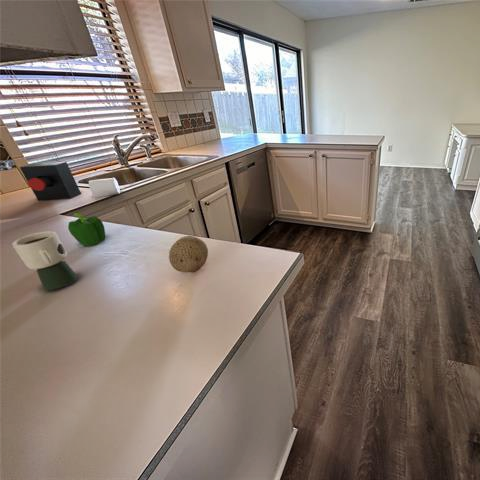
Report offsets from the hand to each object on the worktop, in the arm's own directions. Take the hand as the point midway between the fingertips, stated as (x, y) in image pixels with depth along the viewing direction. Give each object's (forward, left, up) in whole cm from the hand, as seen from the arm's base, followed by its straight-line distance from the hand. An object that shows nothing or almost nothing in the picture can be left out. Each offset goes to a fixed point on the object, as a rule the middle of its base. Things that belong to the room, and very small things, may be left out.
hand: (7, 162), depth 106 cm
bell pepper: (-14, -60, -20) cm, 65 cm away
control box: (+15, +9, -20) cm, 26 cm away
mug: (+25, -11, -20) cm, 34 cm away
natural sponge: (-18, -104, -20) cm, 108 cm away
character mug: (-32, -76, -20) cm, 85 cm away
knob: (+9, +5, -14) cm, 17 cm away
